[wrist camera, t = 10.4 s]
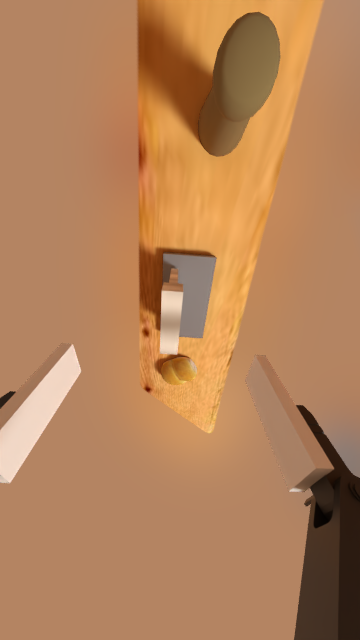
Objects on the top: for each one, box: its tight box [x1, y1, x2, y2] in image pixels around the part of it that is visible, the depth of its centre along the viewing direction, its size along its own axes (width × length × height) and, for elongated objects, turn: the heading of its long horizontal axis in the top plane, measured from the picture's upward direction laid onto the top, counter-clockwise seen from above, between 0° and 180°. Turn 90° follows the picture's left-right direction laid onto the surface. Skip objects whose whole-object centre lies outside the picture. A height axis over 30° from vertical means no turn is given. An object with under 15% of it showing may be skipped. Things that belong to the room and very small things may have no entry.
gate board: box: [163, 252, 216, 338], centre depth 34 cm, size 17×9×2 cm, turn 176°
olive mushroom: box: [198, 12, 280, 156], centre depth 18 cm, size 6×6×11 cm
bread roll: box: [161, 357, 197, 385], centre depth 43 cm, size 8×9×4 cm
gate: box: [160, 268, 183, 355], centre depth 28 cm, size 12×3×10 cm, turn 175°
